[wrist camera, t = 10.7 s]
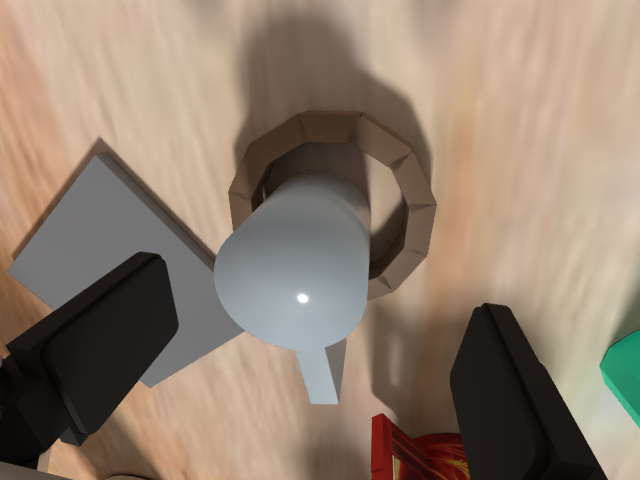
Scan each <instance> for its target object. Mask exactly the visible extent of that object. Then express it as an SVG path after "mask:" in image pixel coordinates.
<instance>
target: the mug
mask: <svg viewBox="0 0 640 480" xmlns="http://www.w3.org/2000/svg"><path fill="white" fill-rule="evenodd" d="M392 455H393V456H395V460H394V468H395V480H471V479H470V474H469V470H468V465H467V461H466V456H465V451H464V447H463V442H462V438H461V434H459V433H436V434H431V435H425V436H422V437H419V438H416V439H411V438H410V437H409V436H408V435H407V434H406V433H404V432H403V431H402V430H401V429H400V428H398V427H397V426H396V425H395V424H394V423H392V422H391V420H390V419H389V418H387V417H386V416H385V415H384V414H383V413H381V414H379V415H376V416H374V417H372V445H371V472H372V480H393V459H392Z"/></svg>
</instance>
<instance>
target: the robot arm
mask: <svg viewBox="0 0 640 480" xmlns="http://www.w3.org/2000/svg"><path fill="white" fill-rule="evenodd" d="M178 328H179V322H178V317H177V312H176V307H175V303H174V298H173V293H172V288H171V283H170V279H169V274H168V269H167V264H166V261H165V260H163V259H162V257H161V256H160V255H159V254H156V253H149V252H143V251H140V252H137V253H135V254H134V255H133V256H131V257H130V258H128V259H127V260H126V261H124V262H123V263H121V264H120V265H119V266H117V267H116V268H114V269H113V270H111V271H110V272H109V273H107V274H106V275H104V276H103V277H102V278H100V279H99V280H97V281H96V282H94V283H93V284H92V285H90V286H89V287H87V288H86V289H85V290H83V291H82V292H80V293H79V294H78V295H76V296H75V297H73V298H72V299H70V300H69V301H68V302H66V303H65V304H63V305H62V306H61V307H59V308H58V309H56V310H55V311H54V312H52V313H51V314H49V315H48V316H46V317H45V318H44V319H42V320H41V321H39V322H38V323H37V324H35V325H34V326H32V327H31V328H29V329H28V330H27V331H25V332H24V333H22V334H21V335H20V336H18V337H17V338H15V339H14V340H13V341H11V342H10V343H8V344H7V345H6V347H7V349H8V350H9V352H10V354H11V355H9V356H8V357H6V358H5V359H3V358H2V356H1V355H0V480H72V479H68V478H65V477H61V476H57V475H53V474H49V473H47V472H48V466H49V460H50V454H51V448H52V445H53V444H54V442H55V441H56V440H57V439H58V438H60V440H61V442H64V443H68V444H72V445H76V446H81V445H82V443H83V442H84V441H85V440H86V439H87V437H88V436H89V435H90V434H93V433H95V432H96V431H97V430H98V429H99V428H100V427H101V426H102V425H103V424H104V422H105V421H106V420H107V419H108V417H109V416H110V415H111V414H112V412H113V411H114V410H115V409H116V408H117V406H118V405H119V404H120V403H121V401H122V400H123V399H124V398H125V396H126V395H127V394H128V393H129V391H130V390H131V389H132V388H133V387H134V385H135V384H136V383H137V382H138V380H139V379H140V378H141V377H142V375H143V374H144V373H145V372H146V370H147V369H148V368H149V367H150V366H151V364H152V363H153V362H154V361H155V359H156V358H157V357H158V356H159V354H160V353H161V352H162V351H163V349H164V348H165V347H166V346H167V345H168V343H169V342H170V341H171V340H172V338H173V337H174V336H175V335H176V333H177V331H178ZM450 387H451V392H452V396H453V401H454V405H455V410H456V415H457V419H458V424H459V428H460V433H461V438H462V442H463V447H464V451H465V456H466V461H467V465H468V470H469V474H470V479H471V480H608V479H607V477H606V475H605V473H604V472H603V470H602V468H601V466H600V464H599V463H598V461H597V459H596V457H595V455H594V454H593V452H592V450H591V448H590V447H589V445H588V443H587V441H586V439H585V438H584V436H583V434H582V432H581V430H580V429H579V427H578V425H577V423H576V422H575V420H574V418H573V416H572V414H571V413H570V411H569V409H568V407H567V405H566V404H565V402H564V400H563V398H562V397H561V395H560V393H559V391H558V389H557V388H556V386H555V384H554V382H553V380H552V379H551V377H550V375H549V373H548V372H547V370H546V368H545V367H544V366H543V364H541V363H540V362H539V361H538V359H537V357H536V355H535V353H534V351H533V350H532V348H531V346H530V344H529V342H528V341H527V339H526V337H525V335H524V333H523V331H522V330H521V328H520V326H519V324H518V322H517V321H516V319H515V317H514V315H513V313H512V311H511V310H510V308H509V307H507V306H503V305H497V304H490V303H484V304H483V305H482V306H481V307H476V308H475V309H474V311H473V313H472V316H471V319H470V321H469V324H468V327H467V330H466V332H465V335H464V338H463V340H462V343H461V346H460V348H459V351H458V354H457V357H456V359H455V362H454V365H453V367H452V370H451V373H450ZM106 480H145V479H142V478H138V477H133V476H124V475H120V476H113V477H109V478H107V479H106Z"/></svg>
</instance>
